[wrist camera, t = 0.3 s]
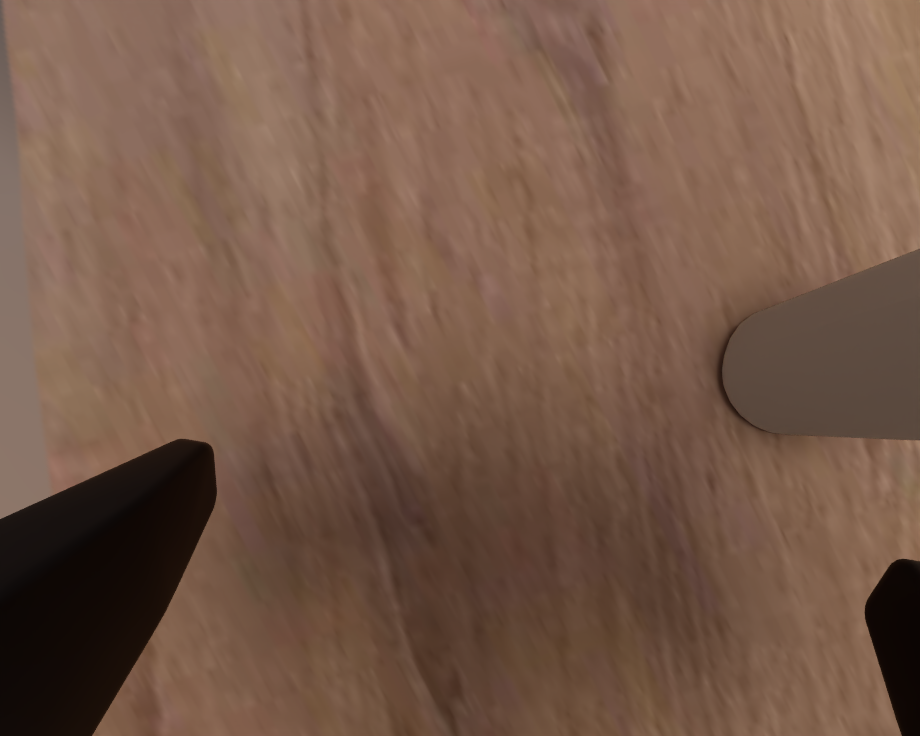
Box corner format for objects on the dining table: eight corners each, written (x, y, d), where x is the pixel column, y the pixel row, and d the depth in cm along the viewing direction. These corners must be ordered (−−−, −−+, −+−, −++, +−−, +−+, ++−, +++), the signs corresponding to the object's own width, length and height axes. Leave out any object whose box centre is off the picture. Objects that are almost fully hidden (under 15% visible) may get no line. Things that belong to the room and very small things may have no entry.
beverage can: (868, 374, 23) (1320, 316, 11) (780, 462, 22) (1143, 505, 10) (775, 283, 23) (1112, 129, 11) (687, 369, 23) (935, 306, 11)
